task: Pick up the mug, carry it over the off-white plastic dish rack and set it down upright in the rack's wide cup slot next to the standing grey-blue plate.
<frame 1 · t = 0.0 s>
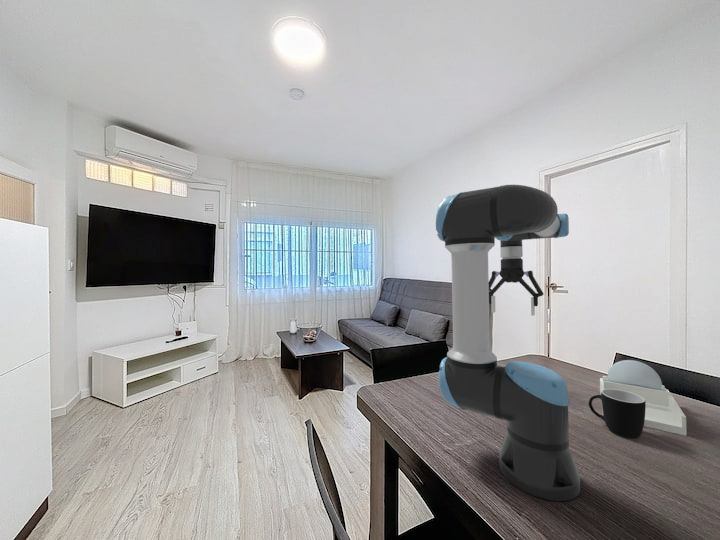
hand: (512, 313, 110), 28 cm above the table, fingers open, 13 cm apart
mug: (615, 430, 80), on the table
plate in rack: (634, 402, 95), resting on dish rack
dish rack: (636, 410, 91), on the table
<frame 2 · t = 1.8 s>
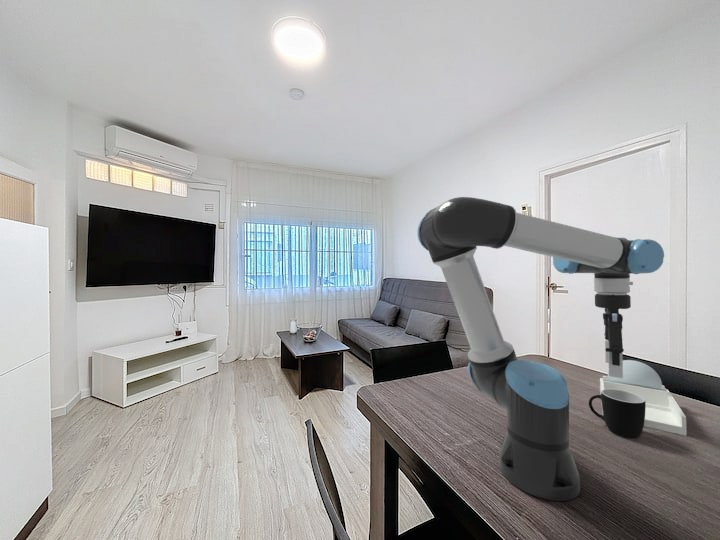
hand: (613, 369, 80), 17 cm above the table, fingers open, 13 cm apart
nothing on the table moved.
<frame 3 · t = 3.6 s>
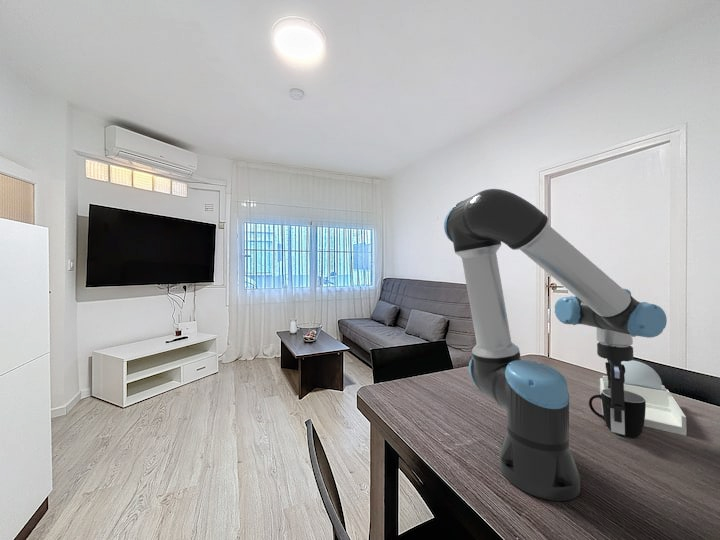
hand: (616, 425, 80), 1 cm above the table, fingers closed on mug, 9 cm apart
mug: (616, 430, 80), on the table, touching gripper
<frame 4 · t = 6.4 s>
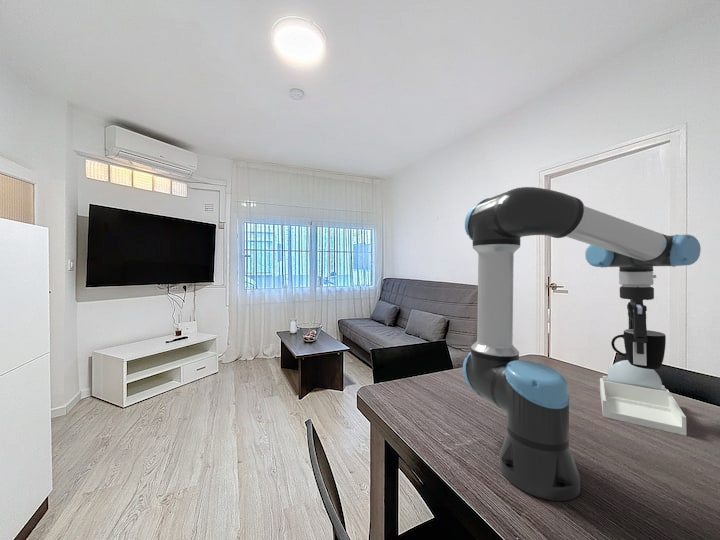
hand: (637, 360, 87), 17 cm above the table, fingers closed on mug, 9 cm apart
mug: (637, 365, 88), point 15 cm above the table, touching gripper
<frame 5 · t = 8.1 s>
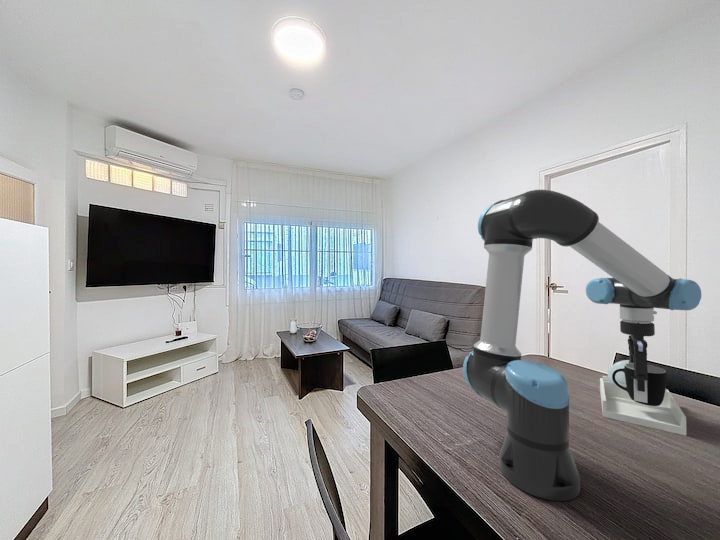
hand: (638, 395, 87), 6 cm above the table, fingers closed on mug, 9 cm apart
mug: (638, 400, 88), point 5 cm above the table, touching gripper
when the fingers open (4 cm above the table, at t = 9.1 s): mug drops 1 cm, resting on dish rack.
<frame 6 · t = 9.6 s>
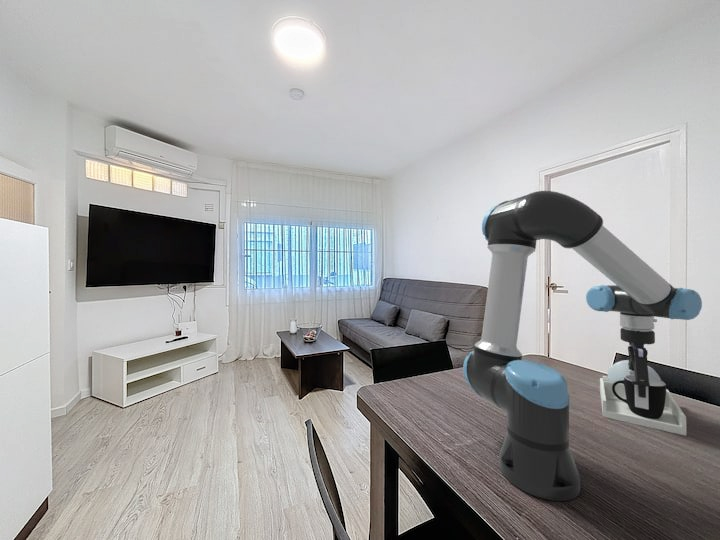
hand: (638, 399, 87), 5 cm above the table, fingers open, 13 cm apart
mug: (638, 412, 88), point 1 cm above the table, touching dish rack
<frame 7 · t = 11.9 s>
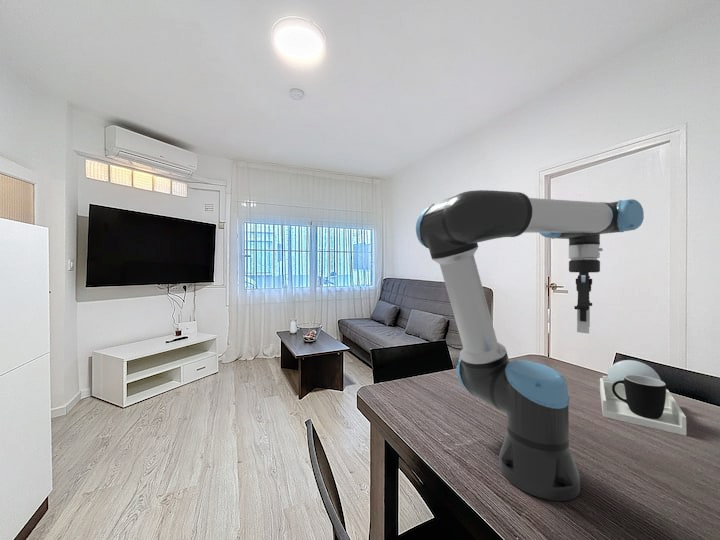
hand: (583, 329, 88), 27 cm above the table, fingers open, 13 cm apart
nothing on the table moved.
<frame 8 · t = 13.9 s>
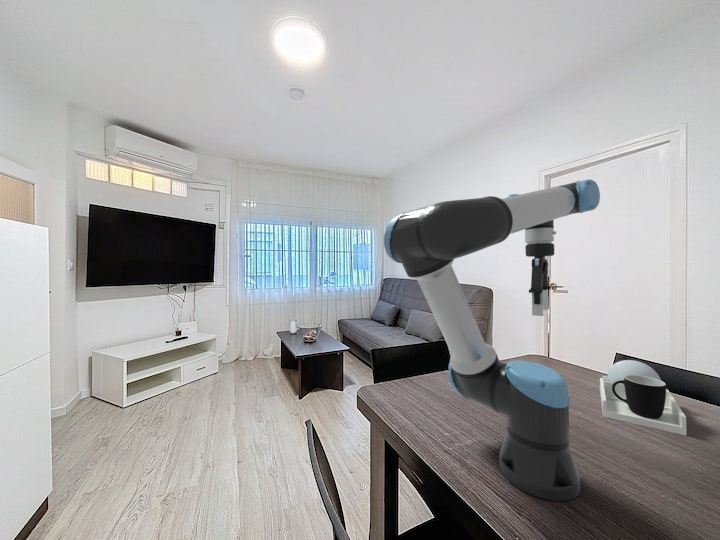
hand: (540, 312, 88), 32 cm above the table, fingers open, 13 cm apart
nothing on the table moved.
at the end: mug inside the target area on the dish rack (0.4 cm from its centre), point 0.8 cm above the dish rack's base; mug tilted 0°; the gripper is holding nothing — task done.
